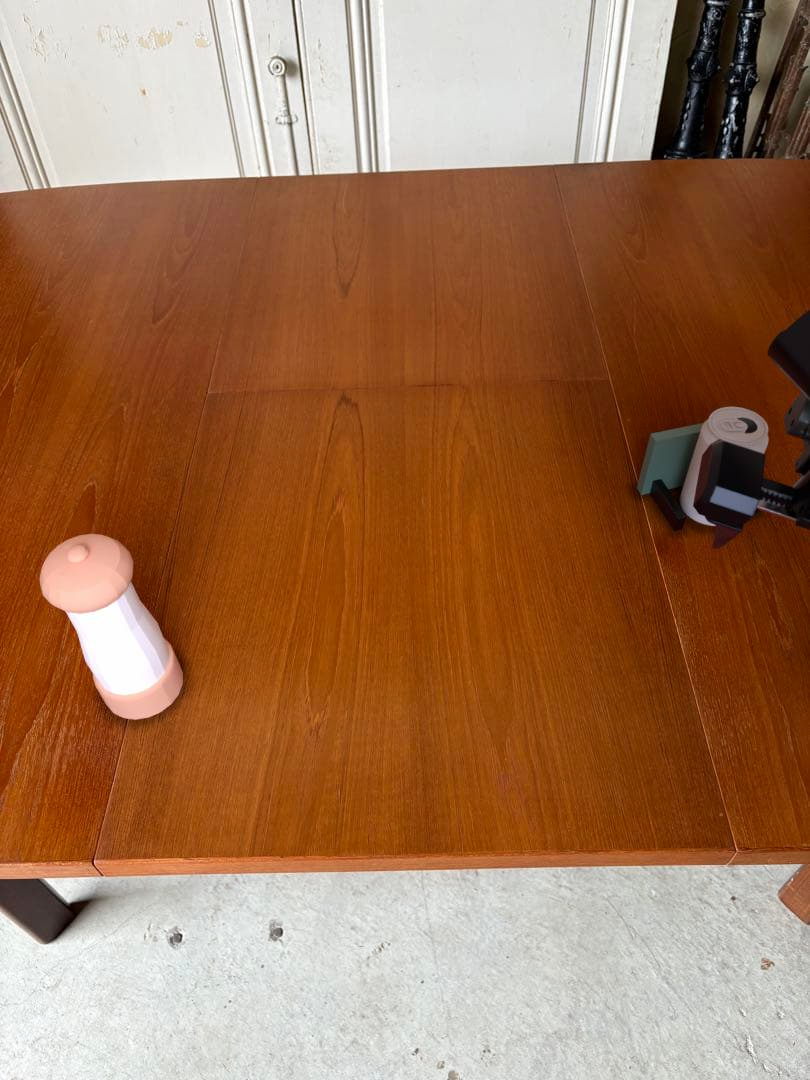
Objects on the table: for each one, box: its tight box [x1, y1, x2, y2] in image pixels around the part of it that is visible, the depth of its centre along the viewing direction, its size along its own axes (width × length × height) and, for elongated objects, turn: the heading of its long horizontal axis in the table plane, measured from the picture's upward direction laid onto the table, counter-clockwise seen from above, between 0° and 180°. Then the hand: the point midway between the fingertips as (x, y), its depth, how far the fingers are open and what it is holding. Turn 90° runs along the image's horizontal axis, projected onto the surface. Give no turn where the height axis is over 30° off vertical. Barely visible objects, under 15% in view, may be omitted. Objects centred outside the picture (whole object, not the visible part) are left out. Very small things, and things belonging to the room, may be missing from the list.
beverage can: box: [679, 406, 769, 527], centre depth 84 cm, size 6×6×12 cm
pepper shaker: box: [39, 533, 184, 721], centre depth 68 cm, size 7×7×19 cm
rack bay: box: [636, 422, 761, 532], centre depth 86 cm, size 7×12×8 cm, turn 105°
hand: (766, 561), depth 69 cm, fingers open, 9 cm apart
